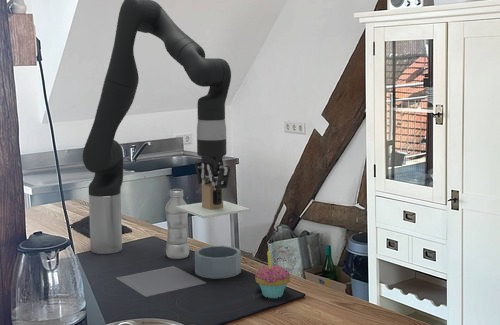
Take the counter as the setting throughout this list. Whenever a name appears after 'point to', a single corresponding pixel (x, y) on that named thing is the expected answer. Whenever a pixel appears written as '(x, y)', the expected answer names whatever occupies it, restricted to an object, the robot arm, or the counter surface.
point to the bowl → (217, 262)
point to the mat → (160, 281)
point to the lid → (211, 205)
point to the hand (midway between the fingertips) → (212, 202)
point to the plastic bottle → (176, 226)
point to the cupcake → (272, 279)
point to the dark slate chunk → (84, 227)
